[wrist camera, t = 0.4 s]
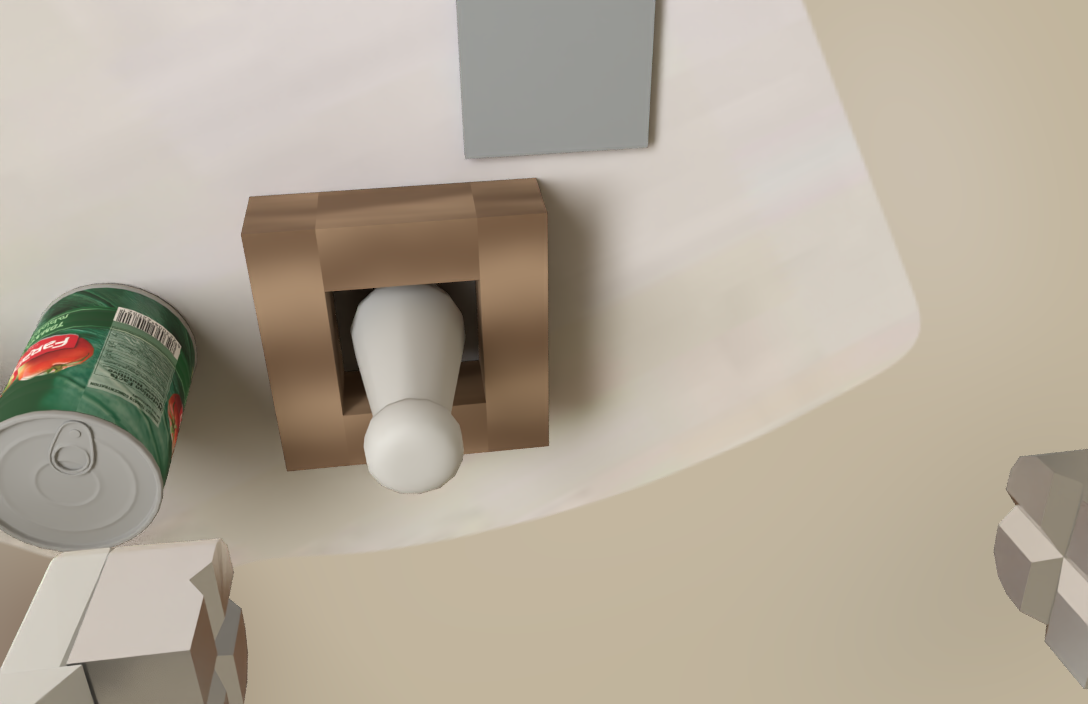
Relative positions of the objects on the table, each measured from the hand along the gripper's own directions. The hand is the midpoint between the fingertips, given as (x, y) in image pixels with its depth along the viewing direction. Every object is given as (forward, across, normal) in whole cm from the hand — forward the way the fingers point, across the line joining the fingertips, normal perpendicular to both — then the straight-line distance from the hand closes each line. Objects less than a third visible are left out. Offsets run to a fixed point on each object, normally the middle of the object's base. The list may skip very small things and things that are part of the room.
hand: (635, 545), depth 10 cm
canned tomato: (+42, +18, +17) cm, 48 cm away
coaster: (+40, -5, +3) cm, 40 cm away
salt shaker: (+41, +3, +16) cm, 44 cm away
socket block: (+41, +3, +16) cm, 44 cm away
